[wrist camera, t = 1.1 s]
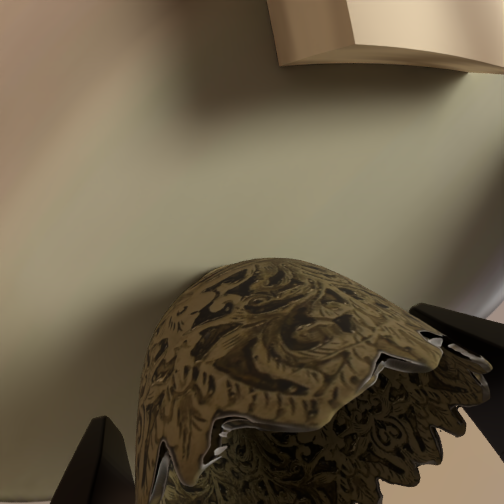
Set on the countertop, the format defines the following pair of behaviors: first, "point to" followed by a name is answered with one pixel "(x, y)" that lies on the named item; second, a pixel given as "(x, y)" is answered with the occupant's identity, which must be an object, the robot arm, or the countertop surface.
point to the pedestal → (391, 33)
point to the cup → (294, 391)
